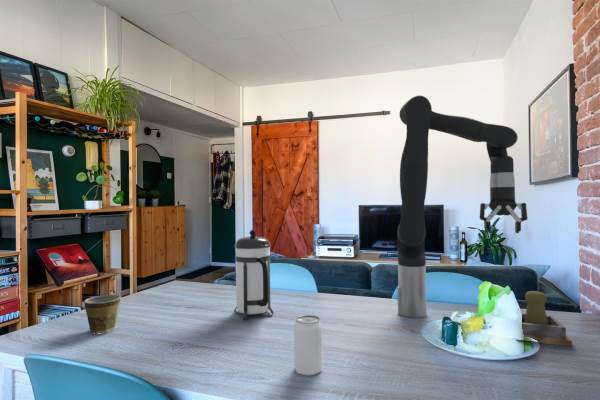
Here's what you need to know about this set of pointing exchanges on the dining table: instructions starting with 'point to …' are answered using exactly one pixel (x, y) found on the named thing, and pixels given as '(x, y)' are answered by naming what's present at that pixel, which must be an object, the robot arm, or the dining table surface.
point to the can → (308, 345)
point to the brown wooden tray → (546, 331)
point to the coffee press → (252, 275)
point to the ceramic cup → (102, 312)
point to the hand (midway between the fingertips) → (503, 232)
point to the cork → (536, 308)
